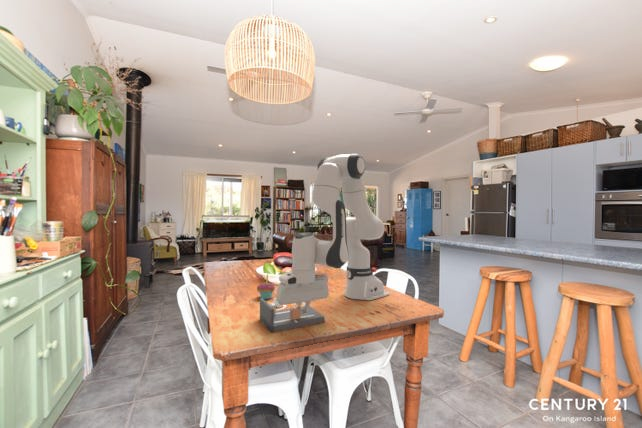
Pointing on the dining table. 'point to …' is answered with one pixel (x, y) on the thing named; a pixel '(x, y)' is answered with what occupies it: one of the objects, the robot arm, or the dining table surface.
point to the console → (286, 318)
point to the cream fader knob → (273, 307)
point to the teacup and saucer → (278, 304)
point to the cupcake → (266, 289)
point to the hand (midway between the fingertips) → (303, 312)
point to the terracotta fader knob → (295, 313)
